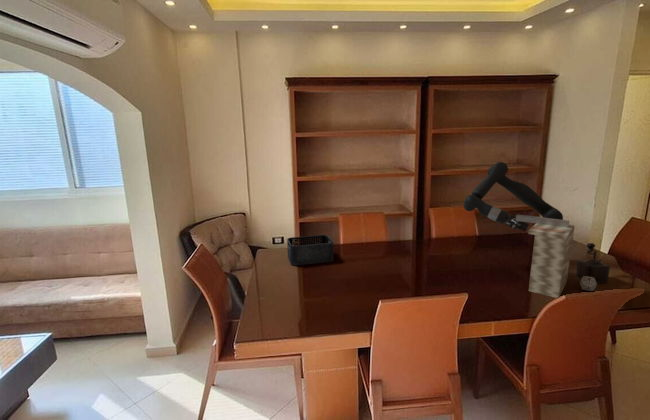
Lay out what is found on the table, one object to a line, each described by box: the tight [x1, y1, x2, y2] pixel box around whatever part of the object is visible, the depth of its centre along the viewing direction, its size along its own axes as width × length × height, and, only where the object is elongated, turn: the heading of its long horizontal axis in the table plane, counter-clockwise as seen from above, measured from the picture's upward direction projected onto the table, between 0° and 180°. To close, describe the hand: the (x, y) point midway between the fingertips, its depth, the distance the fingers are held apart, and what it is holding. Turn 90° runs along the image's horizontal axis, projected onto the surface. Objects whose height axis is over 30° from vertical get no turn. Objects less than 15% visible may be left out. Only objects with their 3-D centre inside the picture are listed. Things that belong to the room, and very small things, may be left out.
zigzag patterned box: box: [527, 223, 576, 299], centre depth 181 cm, size 16×24×32 cm, turn 138°
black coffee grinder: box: [575, 242, 611, 284], centre depth 191 cm, size 16×11×18 cm
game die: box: [577, 274, 600, 292], centre depth 177 cm, size 9×8×10 cm
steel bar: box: [515, 213, 570, 228], centre depth 185 cm, size 24×3×3 cm, turn 48°
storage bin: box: [286, 234, 335, 266], centre depth 230 cm, size 29×19×13 cm
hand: (527, 228), depth 194 cm, fingers open, 8 cm apart
